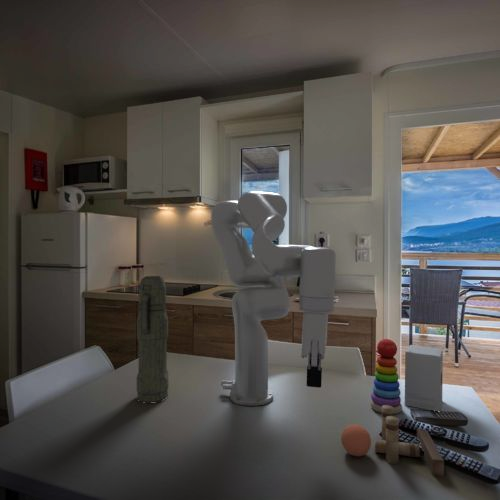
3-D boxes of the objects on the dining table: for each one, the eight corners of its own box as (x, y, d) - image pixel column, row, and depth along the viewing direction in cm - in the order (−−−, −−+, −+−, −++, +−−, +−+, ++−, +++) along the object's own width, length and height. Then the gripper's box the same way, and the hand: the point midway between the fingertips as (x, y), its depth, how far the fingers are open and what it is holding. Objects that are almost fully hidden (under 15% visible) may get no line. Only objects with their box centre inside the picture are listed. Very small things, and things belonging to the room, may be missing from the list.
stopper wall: (432, 474, 69) (432, 459, 69) (416, 441, 81) (416, 428, 81) (443, 476, 69) (443, 460, 69) (426, 442, 81) (426, 429, 81)
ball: (374, 448, 72) (364, 467, 74) (375, 425, 77) (366, 444, 79) (344, 435, 73) (335, 454, 75) (347, 413, 78) (339, 432, 81)
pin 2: (386, 463, 73) (386, 421, 73) (384, 456, 75) (384, 415, 75) (399, 464, 73) (399, 422, 72) (397, 457, 75) (397, 416, 75)
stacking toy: (405, 417, 93) (405, 344, 93) (372, 414, 94) (372, 342, 94) (398, 404, 101) (399, 336, 100) (368, 401, 102) (369, 335, 102)
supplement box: (440, 413, 95) (441, 356, 95) (404, 405, 100) (404, 351, 100) (443, 401, 103) (443, 348, 102) (409, 394, 107) (409, 343, 107)
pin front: (375, 441, 76) (419, 446, 74) (374, 437, 79) (416, 441, 77) (376, 454, 76) (419, 459, 74) (374, 449, 78) (417, 454, 76)
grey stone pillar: (130, 406, 99) (129, 278, 99) (143, 389, 111) (143, 275, 110) (162, 406, 99) (162, 278, 98) (172, 389, 110) (172, 275, 110)
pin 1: (382, 448, 78) (382, 409, 78) (381, 442, 81) (380, 404, 81) (394, 450, 78) (394, 410, 78) (392, 443, 80) (392, 405, 80)
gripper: (301, 296, 87) (299, 371, 88) (296, 309, 73) (294, 398, 74) (333, 298, 86) (330, 374, 87) (334, 311, 71) (331, 402, 72)
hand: (313, 385), depth 80 cm, fingers closed
